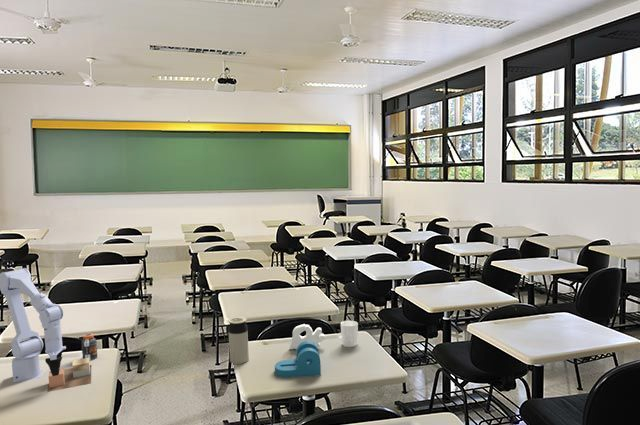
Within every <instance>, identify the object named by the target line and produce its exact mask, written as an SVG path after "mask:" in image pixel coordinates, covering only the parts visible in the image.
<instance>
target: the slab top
mask: <svg viewBox="0 0 640 425" xmlns="http://www.w3.org/2000/svg"><path fill="white" fill-rule="evenodd" d="M90 363H91V362H90V361H89V358H84V359H83V358H80V359H78V358H77V359H75V360H72V368H73V372H75V371H80V370H85V369H89V367H90V365H91V364H90Z"/></svg>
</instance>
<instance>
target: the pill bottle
mask: <svg viewBox="0 0 640 425" xmlns="http://www.w3.org/2000/svg"><path fill="white" fill-rule="evenodd" d="M82 336H83V339H82V341H81V354H82V359H84V358H89V362H90V361H94V360H96V359H98V346H97V343H98V342H97V338H95V337H94V333H86V334H85V333H84V335H82Z"/></svg>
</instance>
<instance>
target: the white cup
mask: <svg viewBox="0 0 640 425" xmlns="http://www.w3.org/2000/svg"><path fill="white" fill-rule="evenodd" d="M340 332H341V333H340V336H341V342H342V346H343V347H347V348H353V347H356V346H357V345H358V338H359V337H358V335H359V334H358V332H359V323H358V322H357V321H355V320H343V321H341V322H340Z"/></svg>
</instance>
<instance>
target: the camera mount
mask: <svg viewBox="0 0 640 425" xmlns="http://www.w3.org/2000/svg"><path fill="white" fill-rule="evenodd" d="M295 350H296V352H295V353H296V357H295V358H293V359H283V360H280V361H278V362H276V363H275V364H274V374H275V376H277V377H280V378H286V379H287V378H288V379H290V378H302V377H304V378H305V377H314V376H315V377H317V376H321V375H322V372H321V371H322V369H321V365H322V364H321V357H320V354H319V353H320V352H319V349H318V348H317V346H316V344H315V343H313V342H311V341H304V342H302V343H300V344H299V345H298V347H297V349H295Z"/></svg>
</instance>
